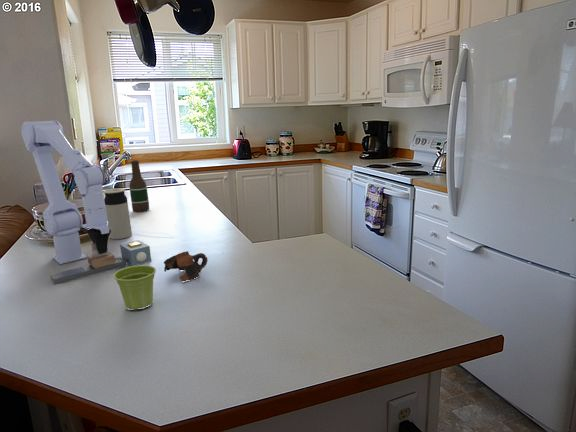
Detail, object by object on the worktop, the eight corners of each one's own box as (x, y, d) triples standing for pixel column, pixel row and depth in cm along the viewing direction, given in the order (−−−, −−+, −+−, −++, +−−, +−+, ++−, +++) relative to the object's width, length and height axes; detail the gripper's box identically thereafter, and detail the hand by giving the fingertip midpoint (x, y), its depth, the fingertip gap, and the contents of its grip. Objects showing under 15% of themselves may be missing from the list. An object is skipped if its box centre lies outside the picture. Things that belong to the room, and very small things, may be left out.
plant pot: (145, 294, 108) (141, 262, 106) (167, 303, 102) (163, 270, 100) (111, 308, 101) (105, 274, 99) (132, 319, 95) (127, 283, 93)
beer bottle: (131, 209, 205) (125, 160, 199) (148, 207, 208) (142, 159, 202) (133, 213, 198) (126, 162, 192) (150, 210, 201) (144, 160, 195)
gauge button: (129, 254, 133) (127, 243, 132) (138, 252, 135) (137, 241, 134) (132, 256, 131) (131, 245, 130) (142, 254, 133) (140, 243, 132)
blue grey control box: (122, 259, 135) (119, 244, 134) (140, 254, 139) (138, 240, 138) (132, 266, 128) (130, 250, 127) (151, 261, 132) (149, 246, 131)
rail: (50, 279, 121) (49, 274, 120) (121, 261, 133) (120, 256, 133) (54, 284, 117) (53, 279, 116) (126, 265, 129) (126, 260, 129)
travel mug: (117, 241, 155) (110, 192, 150) (105, 237, 160) (98, 191, 155) (136, 235, 161) (130, 189, 157) (124, 232, 166) (118, 187, 161)
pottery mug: (172, 288, 112) (160, 260, 113) (172, 291, 121) (161, 264, 122) (214, 269, 116) (201, 242, 117) (211, 273, 125) (200, 247, 126)
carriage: (88, 263, 127) (85, 242, 125) (109, 258, 131) (105, 238, 129) (94, 268, 123) (91, 247, 121) (115, 263, 126) (112, 242, 125)
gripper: (73, 206, 126) (80, 250, 129) (87, 214, 115) (95, 261, 118) (97, 202, 130) (104, 244, 133) (113, 209, 119) (120, 255, 123)
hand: (101, 252), depth 126 cm, fingers closed on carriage, 2 cm apart
